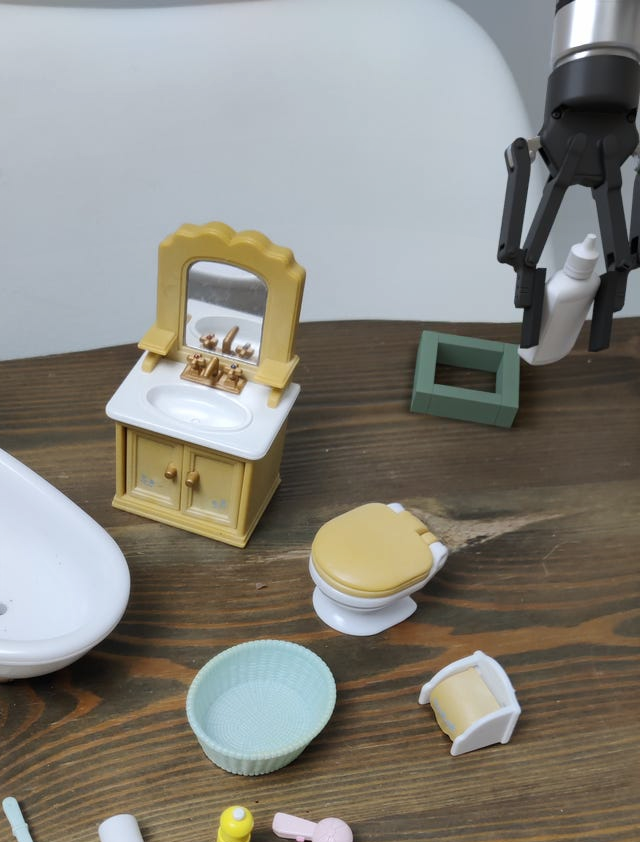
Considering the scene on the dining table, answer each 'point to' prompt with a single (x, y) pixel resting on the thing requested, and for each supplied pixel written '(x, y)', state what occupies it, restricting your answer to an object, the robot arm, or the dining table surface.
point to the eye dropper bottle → (566, 304)
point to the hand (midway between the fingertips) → (563, 347)
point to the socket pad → (461, 400)
